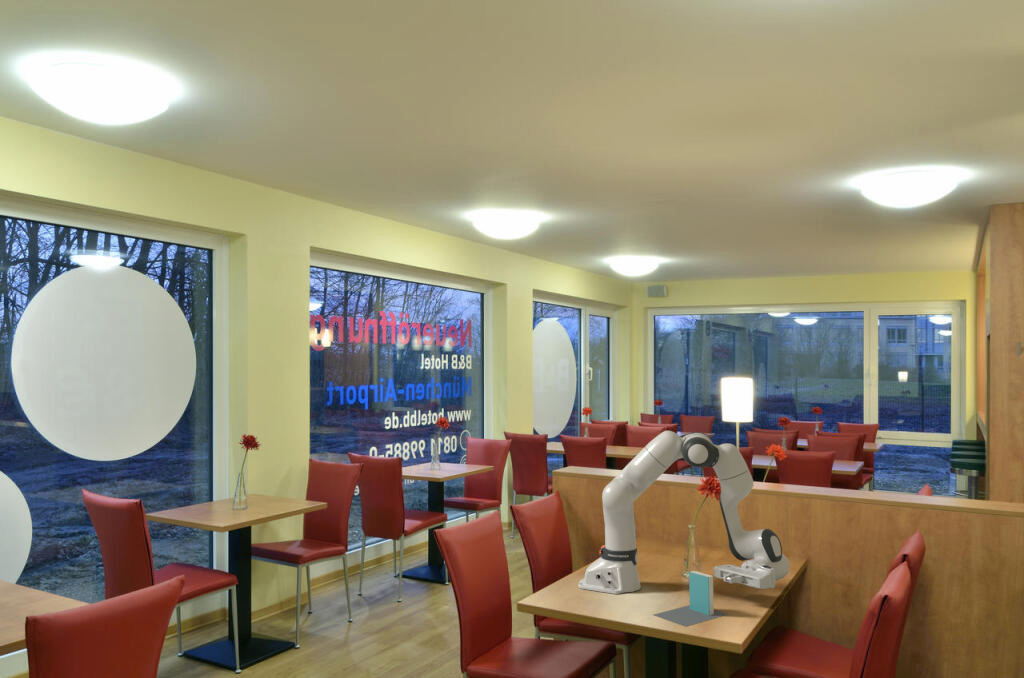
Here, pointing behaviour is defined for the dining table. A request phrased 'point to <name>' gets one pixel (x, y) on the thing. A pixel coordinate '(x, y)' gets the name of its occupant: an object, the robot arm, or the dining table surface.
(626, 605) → the dining table surface
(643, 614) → the dining table surface
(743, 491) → the robot arm
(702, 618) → the mat
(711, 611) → the teal book
